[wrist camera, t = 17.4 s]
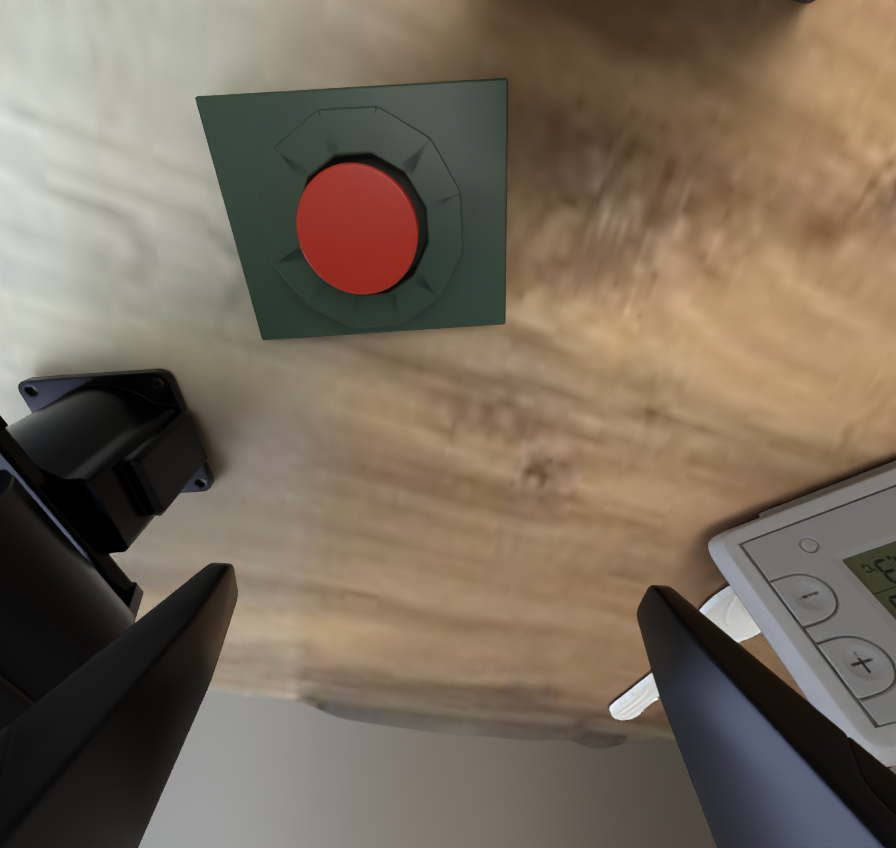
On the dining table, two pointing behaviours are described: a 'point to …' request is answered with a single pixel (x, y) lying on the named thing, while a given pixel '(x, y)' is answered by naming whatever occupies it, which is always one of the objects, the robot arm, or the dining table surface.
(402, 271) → the alarm button
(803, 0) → the dark rimmed tray
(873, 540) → the digital clock
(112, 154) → the dining table surface
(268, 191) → the alarm box
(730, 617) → the spoon
